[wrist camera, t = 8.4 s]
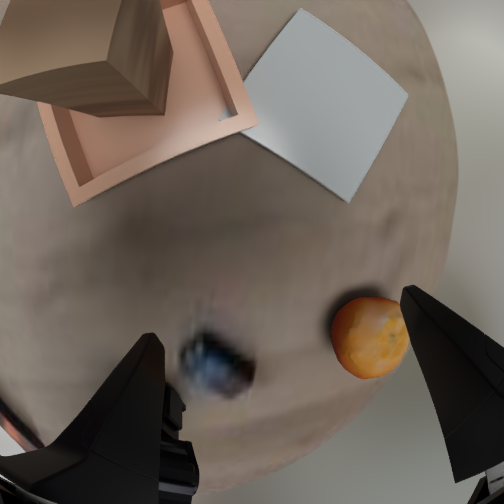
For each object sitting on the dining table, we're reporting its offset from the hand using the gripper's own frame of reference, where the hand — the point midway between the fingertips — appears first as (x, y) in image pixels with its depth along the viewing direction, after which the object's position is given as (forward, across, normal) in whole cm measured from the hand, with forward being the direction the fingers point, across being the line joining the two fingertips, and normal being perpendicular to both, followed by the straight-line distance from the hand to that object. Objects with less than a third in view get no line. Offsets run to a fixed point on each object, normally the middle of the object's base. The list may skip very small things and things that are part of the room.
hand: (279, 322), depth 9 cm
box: (+15, +7, -10) cm, 19 cm away
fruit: (+12, -7, +16) cm, 21 cm away
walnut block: (+14, +7, -10) cm, 18 cm away
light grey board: (+16, -6, -5) cm, 18 cm away
